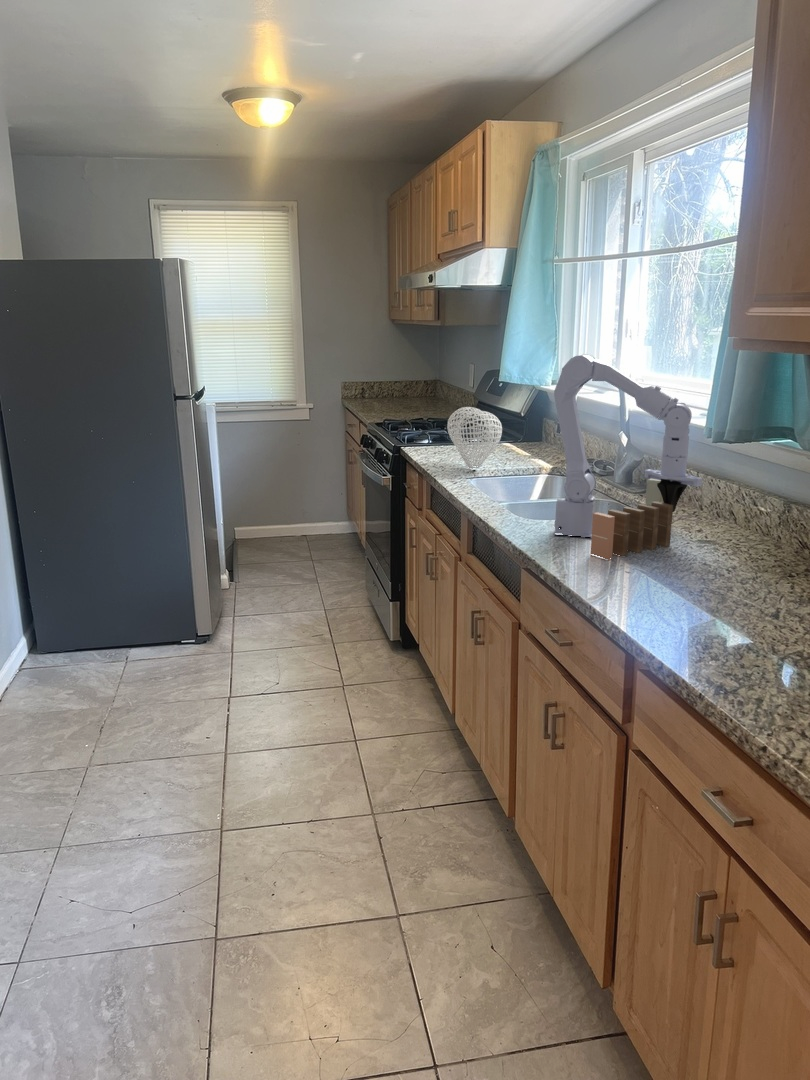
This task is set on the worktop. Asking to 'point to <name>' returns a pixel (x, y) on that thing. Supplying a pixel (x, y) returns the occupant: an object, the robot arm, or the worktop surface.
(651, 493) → the skincare box
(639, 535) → the walnut tile
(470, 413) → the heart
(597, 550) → the terracotta tile
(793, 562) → the worktop surface
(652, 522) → the walnut tile
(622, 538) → the walnut tile
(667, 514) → the walnut tile
